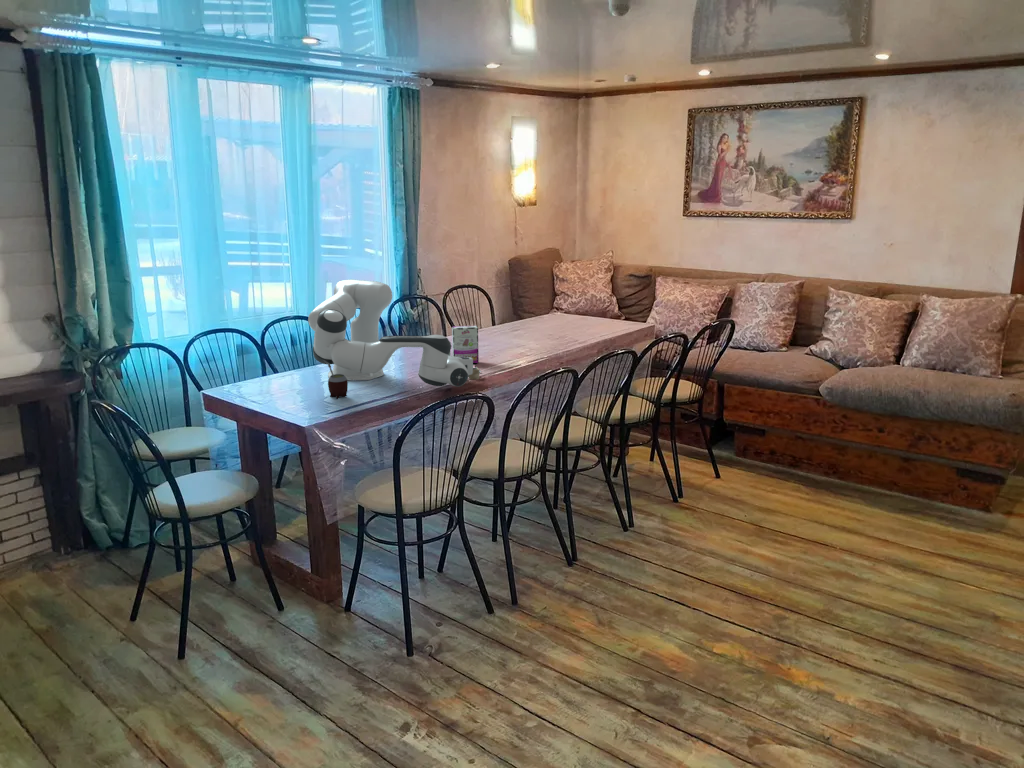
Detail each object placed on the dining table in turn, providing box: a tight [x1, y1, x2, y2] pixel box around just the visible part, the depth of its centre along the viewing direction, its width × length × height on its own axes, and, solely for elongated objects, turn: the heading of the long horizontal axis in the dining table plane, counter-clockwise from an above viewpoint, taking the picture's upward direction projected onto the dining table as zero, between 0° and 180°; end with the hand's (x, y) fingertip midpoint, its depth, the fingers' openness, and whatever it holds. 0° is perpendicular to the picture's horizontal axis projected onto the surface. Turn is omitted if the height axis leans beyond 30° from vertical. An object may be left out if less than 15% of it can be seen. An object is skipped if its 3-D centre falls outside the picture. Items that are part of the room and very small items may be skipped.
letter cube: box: [468, 366, 480, 380], centre depth 312 cm, size 4×4×4 cm
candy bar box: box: [451, 325, 480, 364], centre depth 335 cm, size 11×5×16 cm, turn 101°
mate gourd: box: [323, 360, 349, 400], centre depth 282 cm, size 8×8×15 cm
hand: (444, 359), depth 308 cm, fingers open, 8 cm apart
